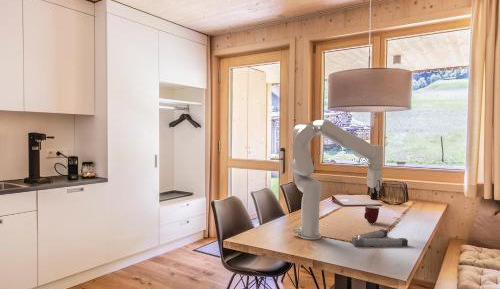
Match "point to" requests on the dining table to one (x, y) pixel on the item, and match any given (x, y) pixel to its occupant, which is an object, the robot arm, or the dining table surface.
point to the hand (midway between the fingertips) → (373, 199)
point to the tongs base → (379, 242)
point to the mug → (371, 213)
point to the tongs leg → (374, 234)
